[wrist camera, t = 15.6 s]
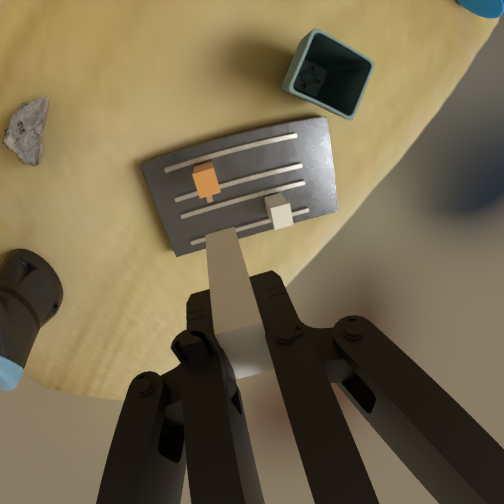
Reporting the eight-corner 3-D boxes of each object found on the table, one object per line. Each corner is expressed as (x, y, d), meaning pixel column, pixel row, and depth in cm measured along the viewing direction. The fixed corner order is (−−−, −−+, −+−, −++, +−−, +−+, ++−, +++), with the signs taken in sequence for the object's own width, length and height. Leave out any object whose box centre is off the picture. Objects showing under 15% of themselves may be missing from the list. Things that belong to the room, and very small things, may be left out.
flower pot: (322, 115, 36) (353, 122, 29) (267, 92, 33) (287, 90, 26) (342, 66, 32) (376, 62, 25) (289, 40, 30) (313, 26, 22)
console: (177, 250, 43) (176, 259, 41) (143, 161, 35) (139, 165, 33) (332, 206, 44) (339, 212, 42) (320, 115, 36) (328, 117, 34)
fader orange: (199, 187, 36) (199, 198, 33) (192, 165, 35) (192, 174, 31) (218, 182, 37) (220, 192, 33) (212, 160, 35) (213, 167, 31)
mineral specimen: (39, 125, 32) (76, 144, 33) (9, 162, 29) (43, 186, 30) (23, 86, 23) (61, 102, 24) (-15, 127, 20) (18, 149, 21)
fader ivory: (267, 216, 41) (274, 230, 37) (262, 196, 39) (270, 208, 35) (284, 212, 41) (293, 224, 37) (280, 192, 39) (289, 203, 35)
